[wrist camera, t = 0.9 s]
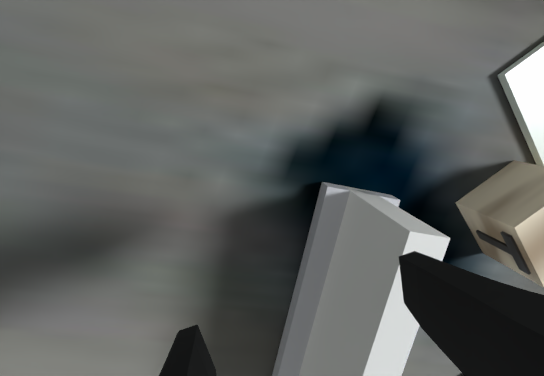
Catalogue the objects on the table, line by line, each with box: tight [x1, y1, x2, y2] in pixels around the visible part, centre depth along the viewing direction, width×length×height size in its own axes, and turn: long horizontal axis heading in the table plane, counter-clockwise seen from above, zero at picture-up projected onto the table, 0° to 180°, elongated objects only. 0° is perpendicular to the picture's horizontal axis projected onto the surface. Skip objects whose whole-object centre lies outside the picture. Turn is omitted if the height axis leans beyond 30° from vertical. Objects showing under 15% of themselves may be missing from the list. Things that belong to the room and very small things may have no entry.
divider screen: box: [272, 182, 450, 376], centre depth 20 cm, size 16×5×8 cm, turn 167°
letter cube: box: [455, 161, 544, 288], centre depth 22 cm, size 5×5×5 cm
